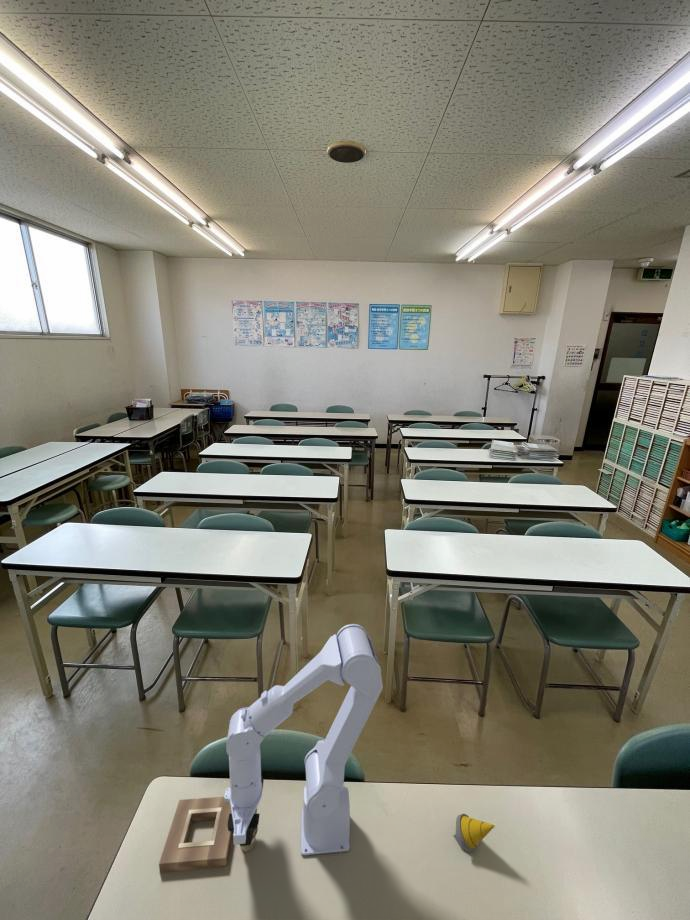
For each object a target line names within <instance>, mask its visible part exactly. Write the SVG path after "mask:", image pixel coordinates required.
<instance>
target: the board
mask: <svg viewBox="0 0 690 920" xmlns="http://www.w3.org/2000/svg"><path fill="white" fill-rule="evenodd" d="M229 814H232V812H231V805H230V802H229V801H225V800H224V796H217V797H216V796H213V797H201V798H200V797H199V798H187V799H179V800H178V804H177V807H176V810H175V812H174V815H173V819H172V822H171V826H170V828H169V831H168V835H167V837H166V841H165V844H164V846H163V849H162V853H161V857H160V859H159V861H158V862H159V863H158V868H159V873H165V872H167V873H168V872H177V871H178V872H179V871H187V870H188V871H190V870H200V869H210V868H211V869H212V868H221V867H227V862H228V855H229V851H230V846H231V839H232V835H233V833H232V832H230V831H228V825H227V824H228V818H229ZM203 820H205V821H214V820H215V821H214V826H213V829H212V830H213V831H212V834H211V838H210V840H207V841H193V842H188V838H189V834H190V831H191V827H192V823H193V822H203Z"/></svg>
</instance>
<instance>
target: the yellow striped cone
mask: <svg viewBox="0 0 690 920" xmlns="http://www.w3.org/2000/svg"><path fill="white" fill-rule="evenodd" d="M495 827H496V825H495V824H492V823H488V822H485V821H482V820H479V819H475V818H473V817H470V816H469V815H468V814H466V813H461V814H458V815H457V817H456V820H455V834H453V837H454V839H455V841H456V842H457V844H458V846H459V848H460V850H461V851H465V852H468V853H471V852H474V851H476V850H477V848H478V845H479V844H480V842H481V841H483V839H484V838H485V837H486V836H488V834H489V833H490V832H491V831H492V830H493V829H494V828H495Z"/></svg>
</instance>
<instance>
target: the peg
mask: <svg viewBox="0 0 690 920" xmlns="http://www.w3.org/2000/svg"><path fill="white" fill-rule="evenodd" d="M254 814H258V807H257V808H256V810H255V813H254ZM258 826H259V825H258ZM258 826H257V829H255V831H254V833H253V837H252V842H251V845H247V846H240V845H239V847H240V850H241V851H242V852H244V853H249V852H250V851H252V850H253V849H254V847H255V845H256V837H257V833H258V830H259V828H258Z"/></svg>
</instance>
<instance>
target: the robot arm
mask: <svg viewBox="0 0 690 920" xmlns="http://www.w3.org/2000/svg"><path fill="white" fill-rule="evenodd" d="M382 677H383V676H382V668H381V665H380V663H379V660H378V658H377V654H376V651H375V648H374V646H373V642H372V639H371V637H370V636H369V633H367V630H366V629H365V628H364V627H363V625H360V624H356V623H350V624H346V625H344V626H342V627H341V628H340V629H339V630H338V632H337V633H335V634H333V635H331V636H330V637H329V638H328V640H327V642H326V643H325V644H324V646H323V647H322V649H321V650H320V651H319V652H318V653H317V655H315V656H314V657H313V658H312V659H311V660H310V661H309V662H307V664H306V665H305V666H304V667H302V669H301V670H299V672H298V673H297V674H295V675H294V676H293V677H292V678H291V679H290V680H289V681H288V682H287V683H286V684H285V685H278V684H277V685H276V684H275V685H274V686H272V687H271V688H270V689H269V690H268V691H267V690H264V691H263V692H262V693H260V697H259V698H258V699H257V700H255V701H254V702H253V703H252V704H251V705H249V706H246V707H242V708H239V709H237V711H235V712H234V713H233V714H232V716H231V717H230V719H229V725H228V732H227V738H226V744H225V745H226V749H225V750H226V754H227V755H228V767H229V784H230V787H227V788H226V789H225V791H224V795H223V797H224V800H225V801H229V802H230V805H231V812H232V814H229V818H228V824H227V825H228V831H230V832H232V835H233V845H239V847H240V846H247V845H251V842H252V837H253V833H254V831H255V829H257V826H259V821H260V814H261V813H257V814H254V813H255V810H256V808H257V809H258V806H259V804H260V801H261V799H262V797H263V788H264V782H265V781H264V777H263V776H262V766H261V763H262V762H261V759H262V757H261V744H262V742H264V738H265V737H266V736H267V735H269V734H270V733H271V732H273V731H274V730H276V729H277V728H278V726H280V725H281V724H282V723H283V722H284V721H285V720H287V719H288V718H289V717H291V716H292V714H293V711H294V704H295V703H297V702H299V701H300V700H301V699H303V698H304V697H306V696H307V695H308V694H310V693H311V692H312V691H315V689H317V688H318V687H320V686H321V685H322V684H324V683H326V682H327V681H330V682H331V683H334V684H337V685H339V686H340V687H344V686H345V682H346V683H347V684H348V685H350V687H349V689H348V691H347V693H346V695H345V698H344V700H343V701H342V703H341V705H340V707H339V710H338V712H337V714H336V715H335V718H334V720H333V722H332V724H331V727H330V728H329V730H328V733H327V735H326V737H325V739H323V740H322V739H321V740H317V742H316V744H315V746H314V747H313V748H312V749H311V750H309V752H307V754H306V755H305V757H304V768H305V780H306V783H305V785H304V788H303V796H302V797H303V799H302V807H303V808H302V809H301V823H300V824H301V826H300V827H301V831H300V833H301V835H300V854H301V855H302V856H309V855H318V854H330V853H341V852H348V851H350V848H351V846H350V832H351V831H350V827H351V811H350V810H351V809H350V794H349V793H350V791H349V787H348V786H346V785H344V782H345V781H344V780H345V768H346V763H347V761H348V759H349V757H350V755H351V753H352V751H353V749H354V747H355V745H356V744H357V741H358V739H359V737H360V735H361V733H362V731H363V729H364V727H365V725H366V723H367V721H368V719H369V717H370V715H371V713H372V711H373V709H374V706H375V704H376V703H377V701H378V699H379V697H380V695H381V693H382V691H383V688H384V687H383V686H384V684H383V678H382Z"/></svg>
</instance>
